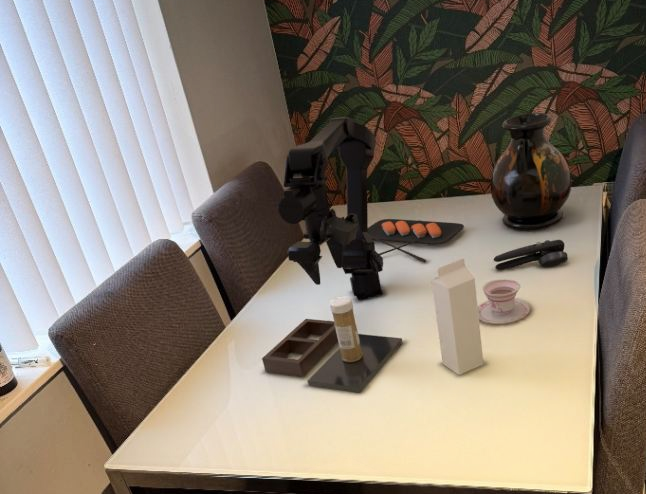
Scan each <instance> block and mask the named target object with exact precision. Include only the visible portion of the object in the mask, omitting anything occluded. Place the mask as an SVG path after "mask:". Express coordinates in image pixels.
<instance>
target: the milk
mask: <svg viewBox="0 0 646 494" xmlns="http://www.w3.org/2000/svg"><path fill="white" fill-rule="evenodd" d="M430 281H431V288H432V294H433V302H434V310H435V316H436V324H437V332H438V340H439V347H440V353H441V360H442V365H443V366H445V367H447V368H448V369H449V370H451V371H453V372H454V373H455V374H457V375H458V376H461V375H462V374H465V373H467V372H469V371H472V370H474V369H476V368H479V367H481V366H483V365H484V356H483V346H482V335H481V327H480V320H479V315H478V307H479V306H478V298H477V288H476V279H475V277H474V275H473V274H472V273H471V271H470V270H469V269H468V268H467V266H466V262H465V259H464V258H460V259H457V260H455V261H452V262H450V263H447V264H444V265H442V266H440V267H438V268H437V276H435V277H433V278H431V280H430Z"/></svg>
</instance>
